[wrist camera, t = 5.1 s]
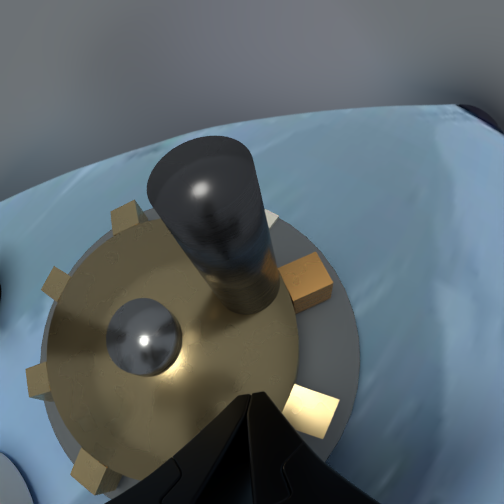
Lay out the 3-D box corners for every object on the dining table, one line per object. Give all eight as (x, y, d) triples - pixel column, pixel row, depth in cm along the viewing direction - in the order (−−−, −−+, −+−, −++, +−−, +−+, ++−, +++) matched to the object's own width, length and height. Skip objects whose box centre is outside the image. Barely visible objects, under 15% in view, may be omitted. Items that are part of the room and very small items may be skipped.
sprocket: (402, 297, 15) (478, 173, 7) (200, 565, 9) (105, 654, 1) (162, 174, 22) (105, 68, 14) (14, 362, 17) (-90, 314, 8)
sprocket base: (417, 300, 16) (424, 291, 15) (213, 573, 10) (206, 583, 9) (169, 174, 24) (163, 162, 23) (17, 367, 18) (5, 363, 17)
